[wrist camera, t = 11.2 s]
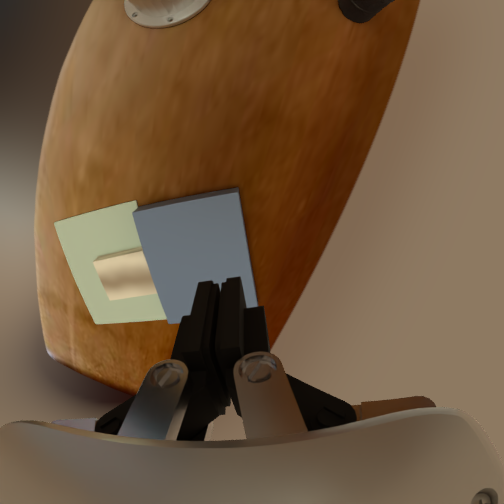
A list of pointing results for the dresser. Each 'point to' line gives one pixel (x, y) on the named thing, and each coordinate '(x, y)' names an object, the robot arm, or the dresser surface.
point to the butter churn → (362, 9)
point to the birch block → (125, 274)
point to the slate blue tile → (194, 247)
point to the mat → (97, 244)
